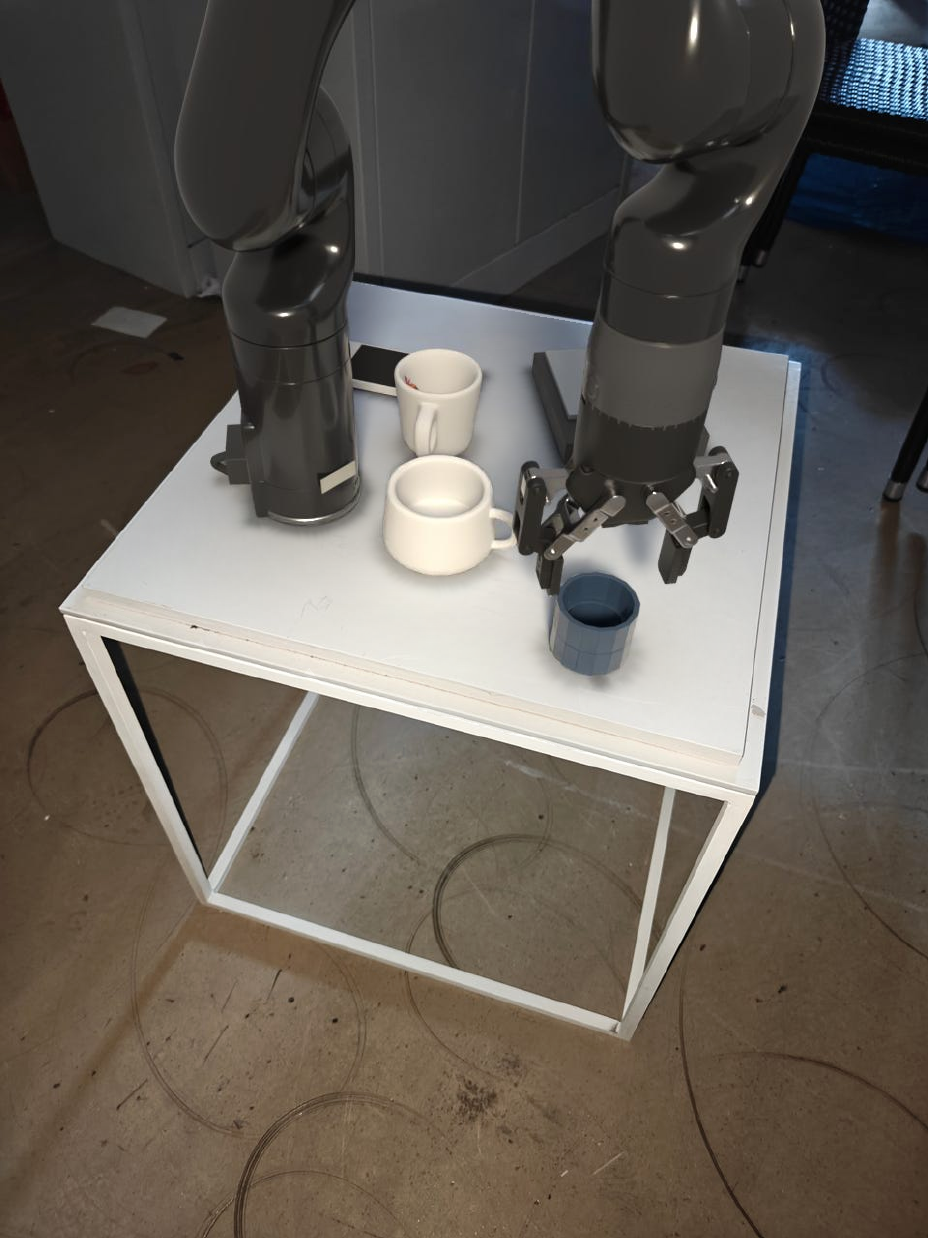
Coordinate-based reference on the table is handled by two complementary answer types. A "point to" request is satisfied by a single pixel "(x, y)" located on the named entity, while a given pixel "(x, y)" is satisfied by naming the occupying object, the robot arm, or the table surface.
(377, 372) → the smartphone
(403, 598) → the table surface
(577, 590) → the dark blue tumbler
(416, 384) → the cup
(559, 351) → the scale
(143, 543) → the table surface
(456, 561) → the mug
